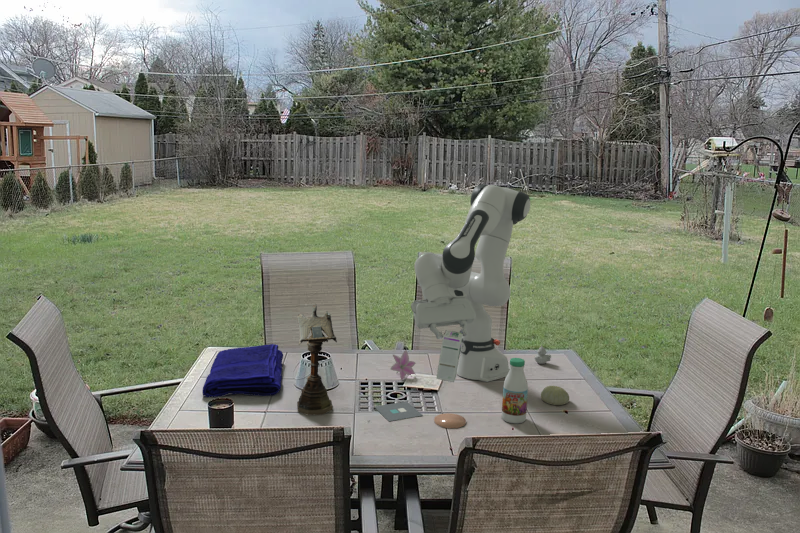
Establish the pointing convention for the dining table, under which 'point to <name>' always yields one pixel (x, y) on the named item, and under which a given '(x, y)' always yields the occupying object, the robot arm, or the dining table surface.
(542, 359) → the grey figurine
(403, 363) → the lily
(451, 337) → the syrup box
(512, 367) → the milk bottle
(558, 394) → the sea urchin shell
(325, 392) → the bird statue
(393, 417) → the tile
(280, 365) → the towel
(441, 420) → the coaster
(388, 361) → the dining table surface
